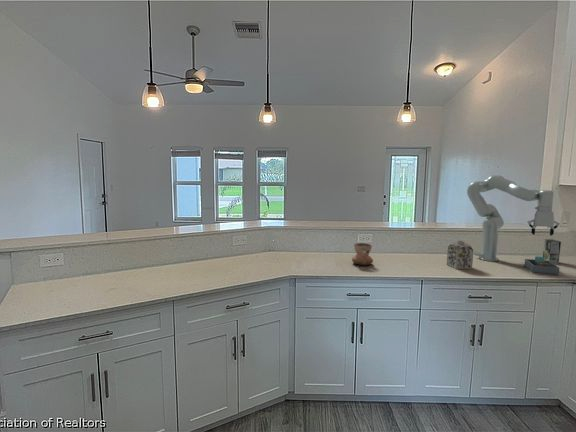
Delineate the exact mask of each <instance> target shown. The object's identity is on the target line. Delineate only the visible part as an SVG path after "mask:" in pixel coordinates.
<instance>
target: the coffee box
mask: <svg viewBox="0 0 576 432" xmlns="http://www.w3.org/2000/svg"><path fill="white" fill-rule="evenodd" d="M561 245H562V241H560V240H556V239H550V238H549V239H547V238H545V239H544V240H543V248H542V249H543V253H542V257H544V260H545V261H551V262H552V263H553V264H555V265H559V263H560V254H561Z"/></svg>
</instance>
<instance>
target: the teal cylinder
mask: <svg viewBox="0 0 576 432" xmlns="http://www.w3.org/2000/svg"><path fill="white" fill-rule="evenodd" d="M534 260H535V265H537V263H538V262H544V257H543V256H539V255H537V256H535V257H534Z"/></svg>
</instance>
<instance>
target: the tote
mask: <svg viewBox="0 0 576 432" xmlns="http://www.w3.org/2000/svg"><path fill="white" fill-rule="evenodd" d="M544 262H546V263H548V264H550V265H549V267H548V266H537V265H535V259H533V258H532V259H531V258H524V267H525V268H526V269H527V270H528V271H529V272H530V273H532V274H537V273H538V274H540V275H548V276H549V275H550V276H559V274H560V267H559V266H558V265H557V264H553V263H552V262H551V261H545V260H544ZM538 274H537V275H538Z"/></svg>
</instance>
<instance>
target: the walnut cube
mask: <svg viewBox="0 0 576 432" xmlns="http://www.w3.org/2000/svg"><path fill="white" fill-rule="evenodd" d="M549 265H550V264H548V263H546V262H538V263H537V266H548V267H549Z"/></svg>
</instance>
